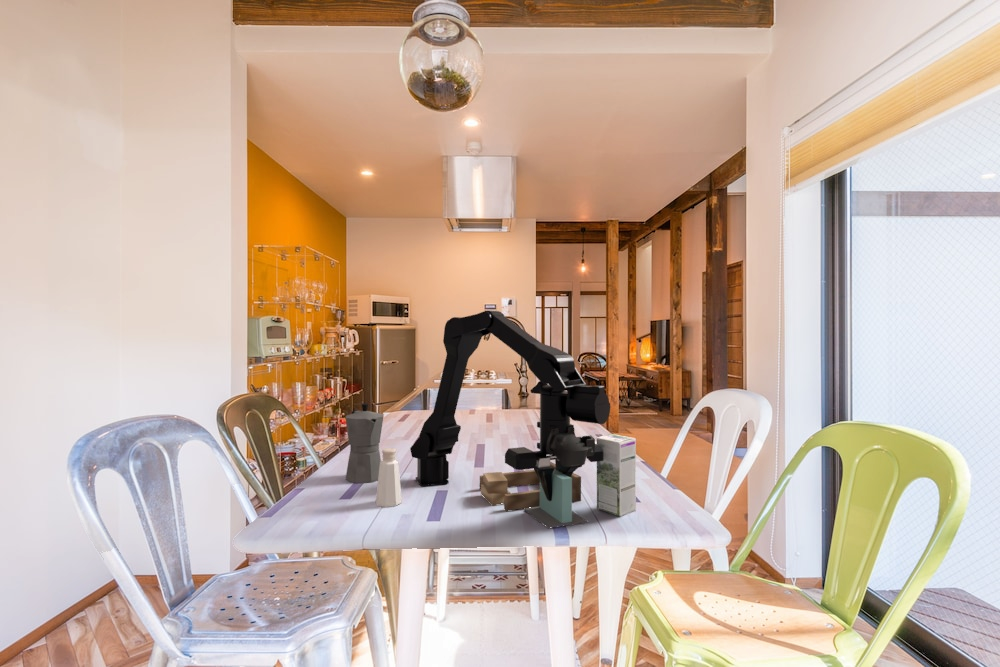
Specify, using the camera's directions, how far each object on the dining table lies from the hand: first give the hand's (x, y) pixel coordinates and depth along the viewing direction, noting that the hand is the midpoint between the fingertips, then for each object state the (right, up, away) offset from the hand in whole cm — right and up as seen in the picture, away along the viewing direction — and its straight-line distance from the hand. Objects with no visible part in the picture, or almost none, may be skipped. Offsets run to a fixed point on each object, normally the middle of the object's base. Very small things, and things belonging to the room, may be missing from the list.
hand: (554, 499), depth 95 cm
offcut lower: (-11, -3, +10) cm, 16 cm away
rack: (-4, -3, +13) cm, 14 cm away
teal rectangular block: (0, -3, 0) cm, 3 cm away
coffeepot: (-44, -3, +26) cm, 51 cm away
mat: (0, -3, 0) cm, 3 cm away
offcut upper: (-11, -1, +10) cm, 15 cm away
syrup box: (+13, -3, +4) cm, 14 cm away
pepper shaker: (-33, -3, +7) cm, 34 cm away
